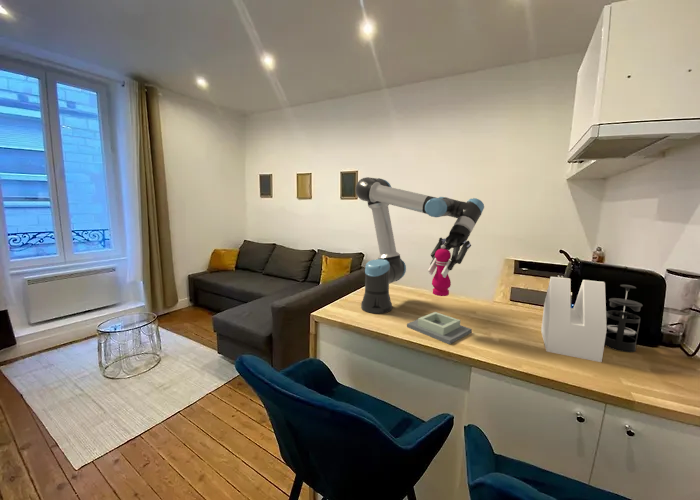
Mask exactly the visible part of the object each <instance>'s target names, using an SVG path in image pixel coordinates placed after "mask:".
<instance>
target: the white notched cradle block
mask: <svg viewBox="0 0 700 500" xmlns="http://www.w3.org/2000/svg"><path fill="white" fill-rule="evenodd" d="M549 278H550V279H549V282H548V287H547V290H546V295H545V299H544V303H543V313H542V319H541V320H542V321H541V327H540V328H541V329H540V332H541V336H542V339H543V345H544V347H545V351H546V352H548V353H553V354H558V355H562V356H567V357H572V358H573V357H574V358H578V359H583V360H588V361H593V362H598V363H602V362H603V356H604V355H603V354H604V350H605V345H604V344H605V337H606V332H607V323H606V316H607V306H606V303H607V300H606V282H605V281H600V280H599V281H597V280H590V279H582V282H581V285H580V287H579V291H578V294H577V295H576V300H575V303H574V306H573V308H572V307H571V300H572V299H571V287H572V286H571V284H572V283H571V281H572V279H571V278H568V277H560V276H550V277H549Z"/></svg>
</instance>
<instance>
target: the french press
mask: <svg viewBox="0 0 700 500" xmlns="http://www.w3.org/2000/svg"><path fill="white" fill-rule="evenodd" d="M619 286H620V287H622V288H624V289H625V298H619V297H618V298H617V297H611V298H609V299H608V301H609V307H611V308H616V307H623V310H608V311H607V310H606V326H607V330H608V331H607V330H606V337H605V344H604V347H607V348H610V349H613V350H615V351H617V352H618V351H619V352H624V353H635V352H636V351H637V347H636V345H637V341H638V335H639V329H640V324H641V317H640V316H639V315H637V314H634V313H631V312H628V311H625V310H626V307H627V308H629V309H631V310H633V311H634V312H637V313H638V312H640V311H641V308H642V307H643V306H644V305H643V304H642V303H641V302H638V301H635V300H633V299H632V300H631V299H627V298H628V292H630V289H637V287H636V286H634V285H630V284H620V285H619ZM615 315H619V316H615ZM627 317H628V318H627ZM629 317H630V318H632V319H630V318H629ZM608 318H610V319H612V320H613V321H617V322H618V323H617V324H616V325H615V324H607V322H608ZM626 323H627V324H638V325H637V329H636V330H637V331H636V330H634V329H632V328H629V327H626ZM634 336H635V338H634Z"/></svg>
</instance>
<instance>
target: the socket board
mask: <svg viewBox="0 0 700 500" xmlns="http://www.w3.org/2000/svg"><path fill="white" fill-rule="evenodd" d="M406 327H407V328H409V329H411V330H413V331H416V332H418V333H421V334H423V335H426V336H428V337H430V338H432V339H435V340H438V341H440V342H442V343H445V344H448V345H451V344H453V343H454V342H455V343H456V342H457V341H458V340H460V339H462V338H464V337H466V336H468V335H470V334H472V330H473V329H472V328H471V327H467V326H463V325H461V319H458V318H455V317H452V316H449V315H446V314H443V313H440V312H437V311H434V312H431V313H429V314H426V315H423V316H420V317H418V318H417V319H415V320H413V321H410V322H408V323H406Z"/></svg>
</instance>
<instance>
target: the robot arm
mask: <svg viewBox="0 0 700 500" xmlns="http://www.w3.org/2000/svg"><path fill="white" fill-rule="evenodd" d="M355 195H356V197H358V199H360V200H361V201H363V202H364V201H365V202H366V203H367V206H368V209H371V212H372V218H373V223H374V229H375V235H376V239H377V246H378V250H379V255H378V257H377V259H371V260H369V261H368V262H366V263H365V269H364V276H365V277H364V294H363V297H362V298H363V299H362V301H361V303H360V304H361V305H360V308H361V310H362V311H364V312H367V313H370V314H385V313H386V314H387V313H388V312H390V311H393V303H392V301H391V297H390V284H392V283H394V282H397V281H400V280H401V279H402V278H403V277H404V276H405V274H406V273H407V265H406V262H405V261H404V260H402V258H401V254H400V253H399V252H397V248H396V243H395V238H394V232H393V227H392V226H393V225H392V220H391V216H390V209H389V205H391V206H394V207H398V208H402V209H407V210H410V211H414V212H418V213H422V214H425V215H428V216H429V217H433V218H440V217H451V218H454V219H456V220H455V222H454V223H453V226H452V227H451V229H450V230H449V234H448V235H447V236H446V237H445V238H443V237H439V238H438V242H437V243H436V245H435V247H433V248H434V249H433V250H432V252H431V253H430V257H431V259H432V260H431V262H429V263H430V265H429V267H428V269H427V272H428V273H429V274H430V275H431V276H432V275H433V274H434V272H435V270H437V264H436V261H437V259H436V258H435V253H436V251H437V250H438V249H442V248H441V246H442V245H445V246H446V248H445V249H447V250H449V251H450V250H451V249H453V250H452V253H451V258H450V259H449V260H448V262H447V264H446V266H445V267H444V269H443V271H442V273H441V274H442V275H443V277H444V278H446V276H447V274H448V275H449V272H450V271H452V270H453V269H454V267H455V265H456V264H458V265H461V264H462V262H463V260H464V258H465V257H466V254H467V251H468V250H469V249H470V248H471V246H472V244H471V242H470V240H468V238H469V237H470V235H471V233H472V231H473V230H474V228H475V226H476V224H477V222H478V221H479V219H480V217H481V216H482V214H483V211H484V209H485V205H484V202H483V201H482V200H481V199H479V198H475V197H473V198H469V199H467V201H463V200H462V201H461V200H458V199H453V198H449V197H446V196H445V197H444V196H439V197H436V196H432V195H426V194H422V193H418V192H413V191H409V190H404V189H401V188H396V187H392V186H391V183H390V182H389V181H387V180H386V179H384V178H377V177H367V176H366V177H362V178H361V179H360V180H357V183H356V185H355ZM460 248H461V249H460Z"/></svg>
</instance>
